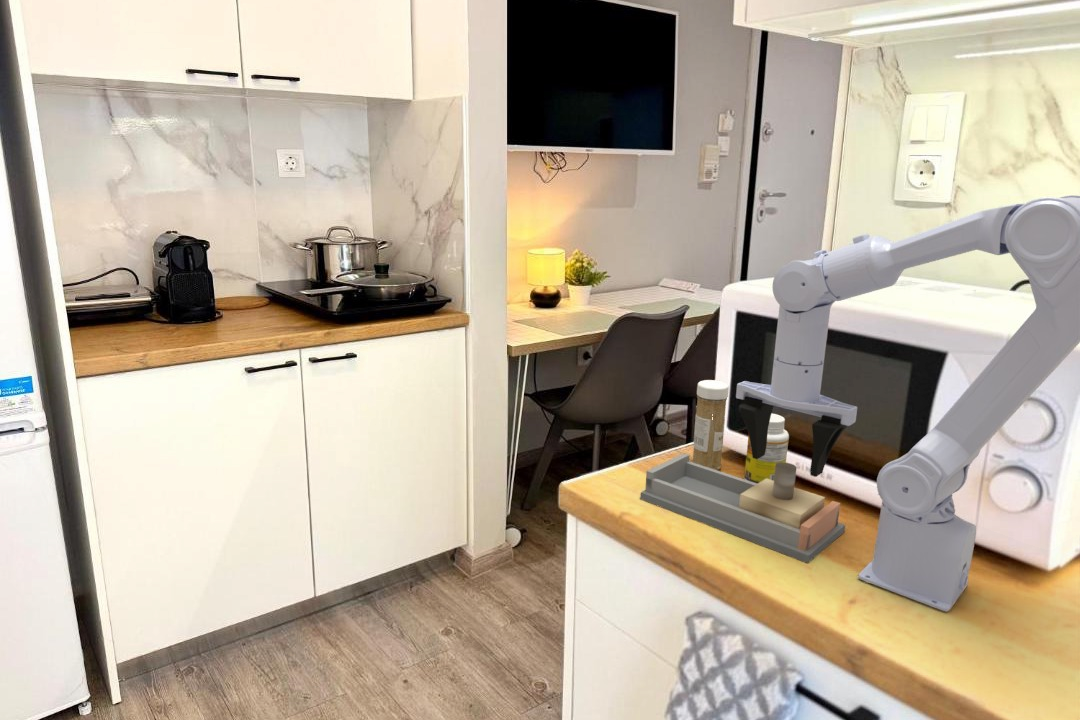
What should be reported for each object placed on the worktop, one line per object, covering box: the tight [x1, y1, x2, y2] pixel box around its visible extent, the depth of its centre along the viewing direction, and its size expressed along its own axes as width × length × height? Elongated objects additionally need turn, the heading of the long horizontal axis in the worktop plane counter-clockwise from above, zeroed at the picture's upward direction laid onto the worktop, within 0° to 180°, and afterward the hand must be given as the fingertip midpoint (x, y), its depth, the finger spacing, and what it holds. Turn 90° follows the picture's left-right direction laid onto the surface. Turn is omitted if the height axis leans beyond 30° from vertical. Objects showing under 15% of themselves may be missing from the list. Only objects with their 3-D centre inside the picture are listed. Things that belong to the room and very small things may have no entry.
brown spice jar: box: [691, 379, 730, 471], centre depth 114 cm, size 5×5×13 cm
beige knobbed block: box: [739, 462, 826, 530], centre depth 95 cm, size 8×7×8 cm
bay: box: [639, 452, 846, 564], centre depth 100 cm, size 24×11×4 cm, turn 47°
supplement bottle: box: [744, 412, 790, 484], centre depth 109 cm, size 6×6×10 cm
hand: (786, 465), depth 94 cm, fingers open, 7 cm apart
